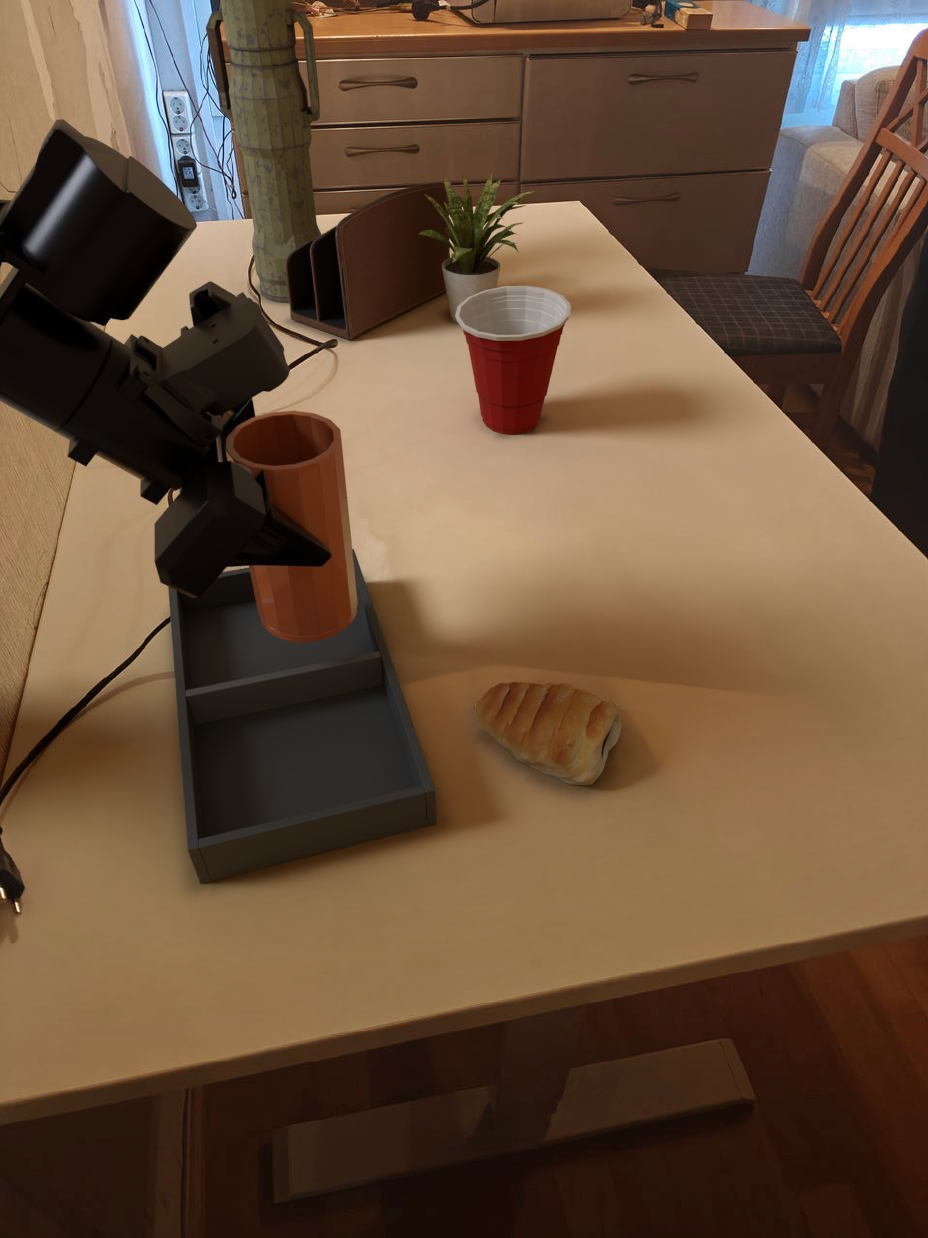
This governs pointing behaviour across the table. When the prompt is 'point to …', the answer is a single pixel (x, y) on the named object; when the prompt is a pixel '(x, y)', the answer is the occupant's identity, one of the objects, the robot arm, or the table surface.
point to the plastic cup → (512, 351)
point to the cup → (302, 521)
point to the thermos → (270, 125)
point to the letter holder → (371, 264)
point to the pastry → (552, 727)
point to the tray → (288, 735)
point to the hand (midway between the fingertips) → (319, 526)
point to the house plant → (472, 241)
